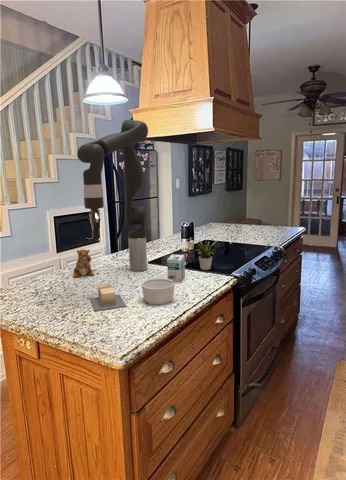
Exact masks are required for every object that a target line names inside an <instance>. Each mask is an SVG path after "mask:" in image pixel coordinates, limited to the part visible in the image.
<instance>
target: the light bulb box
mask: <svg viewBox="0 0 346 480" xmlns="http://www.w3.org/2000/svg"><path fill="white" fill-rule="evenodd" d="M185 255H186V254H171V255H170V256H169V257H168V258H167V259H166V261H167V265H166V267H167V279H169V280H172V281H174V283H182V282H183V280H184V278H185V277H186V269H185V268H186V266H185V265H186V258H185Z"/></svg>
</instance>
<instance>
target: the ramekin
mask: <svg viewBox="0 0 346 480" xmlns="http://www.w3.org/2000/svg"><path fill="white" fill-rule="evenodd" d="M175 283H176V282H174V281H172V280H169V279H168V278H164V277H163V278H158V277H157V278H150V279H147V280H144V281H143V282H142V283H141V289H142V294H143V299H144V301H145V302H146V303H148V304H150V305H164V304H168V303H170V302H171V301H172V300H173V299H174V293H175V286H176V285H175Z"/></svg>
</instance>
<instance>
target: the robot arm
mask: <svg viewBox="0 0 346 480" xmlns="http://www.w3.org/2000/svg"><path fill="white" fill-rule="evenodd" d="M148 128H149V127H148V125H147V124H146V122H144V121H142V120H141V121H140V120H136V119H135V120H134V119H124V121H123V122H122V125H121V128H120V129H121V130H120V132H115V133H112V134H108V135H105V136H102V137H101V138H99V139H97V140H94V141H89V142H87V143H84V144H82V145H81V146H79V148H78V149H77V153H76V156H77V159H78V160H79V161H80V162H82V164H83V163H84V164H89V168H87V169H85V170H83V172H82V178H83V180H82V181H83V202H84V203H83V206H84V209H86V210H90V212H88V215H89V220H90V221H89V222H90V225H91V226H90V228H91V229H92V239H93V240H99V239H100V228H101V213H100V211H99V209H103V208H104V204H105V203H104V202H105V201H104V189H103V181H102V174H103V167H104V163H105V157H106V156H109V155H111V154H113V153H115V152H117V151H118V150H119V151H120V150H121V149H122V150H123V151H122V152H123V183H124V184H123V185H124V215H123V216H124V221H125V224H126V225H129V226H133V225H138V227H136V228H135V229H133V230H131V231H129V232H128V233H127V235H128V236H127V238H128V258H129V260H128V261H129V271H131V272H144V271H147V270H148V255H147V253H148V251H147V248H148V247H147V227H146V226H147V225H146V224H147V222H146V221H147V211H146V208H145V206H141V205H140V206H132V205H133V201H134V199H135V197H136V195H137V194H138V192H140V189H141V187H142V186H143V184H144V168H143V165H142V163H141V161H140V159H139V157H138V155H137V153H136V150H135V144H139V143H142V142H144V141H145V140H146V139H147V137H148V134H149V129H148Z"/></svg>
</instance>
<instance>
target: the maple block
mask: <svg viewBox="0 0 346 480" xmlns="http://www.w3.org/2000/svg"><path fill="white" fill-rule="evenodd" d="M97 292H98V293H97V294H98V296H97V297H99V299H100V301H101V304H102V306H103V307H104V306H111V305H116V298H115V295H116V291H115V290H114V288H113V286H112V284H111V283H110V282H109V283H100V284H97Z"/></svg>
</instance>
